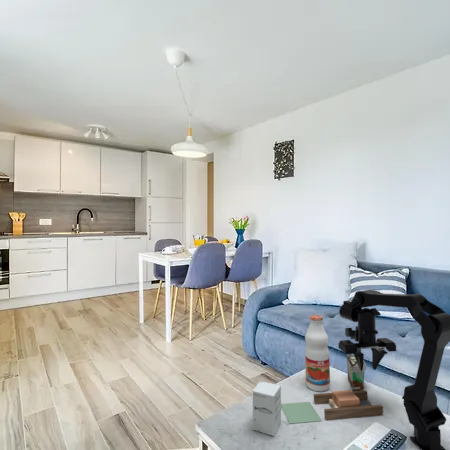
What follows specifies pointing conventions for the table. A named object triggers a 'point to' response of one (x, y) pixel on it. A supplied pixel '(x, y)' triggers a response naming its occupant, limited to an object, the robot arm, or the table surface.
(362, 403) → the trap pit
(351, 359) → the food container
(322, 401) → the channel
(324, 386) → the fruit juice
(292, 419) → the pad
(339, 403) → the block
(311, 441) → the table surface
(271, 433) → the supplement box
